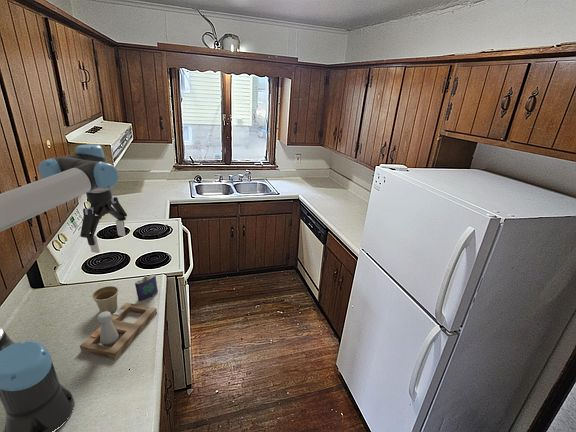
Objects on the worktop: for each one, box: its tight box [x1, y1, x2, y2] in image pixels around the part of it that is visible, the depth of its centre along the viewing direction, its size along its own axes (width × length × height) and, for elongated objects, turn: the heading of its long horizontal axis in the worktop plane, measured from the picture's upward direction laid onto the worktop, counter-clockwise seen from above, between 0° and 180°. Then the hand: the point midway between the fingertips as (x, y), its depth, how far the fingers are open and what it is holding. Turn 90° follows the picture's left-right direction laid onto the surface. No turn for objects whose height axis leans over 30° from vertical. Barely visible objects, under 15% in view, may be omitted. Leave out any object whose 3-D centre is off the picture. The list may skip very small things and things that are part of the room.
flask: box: [134, 273, 159, 302], centre depth 134 cm, size 9×3×11 cm, turn 144°
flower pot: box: [91, 285, 119, 314], centre depth 125 cm, size 9×9×9 cm
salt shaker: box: [96, 311, 120, 347], centre depth 109 cm, size 6×6×13 cm
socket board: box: [79, 302, 158, 359], centre depth 116 cm, size 24×14×3 cm, turn 169°
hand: (109, 243), depth 115 cm, fingers open, 13 cm apart
